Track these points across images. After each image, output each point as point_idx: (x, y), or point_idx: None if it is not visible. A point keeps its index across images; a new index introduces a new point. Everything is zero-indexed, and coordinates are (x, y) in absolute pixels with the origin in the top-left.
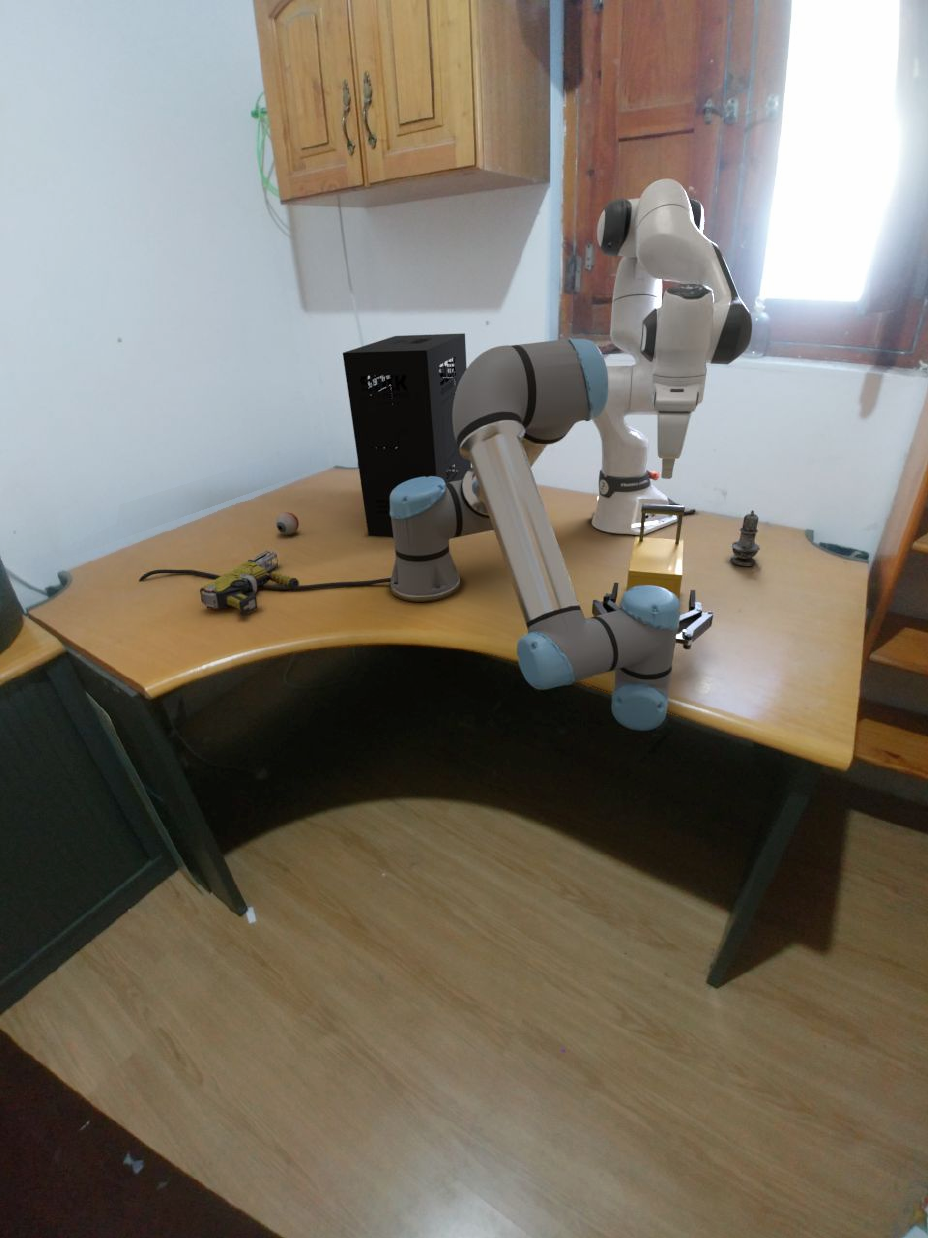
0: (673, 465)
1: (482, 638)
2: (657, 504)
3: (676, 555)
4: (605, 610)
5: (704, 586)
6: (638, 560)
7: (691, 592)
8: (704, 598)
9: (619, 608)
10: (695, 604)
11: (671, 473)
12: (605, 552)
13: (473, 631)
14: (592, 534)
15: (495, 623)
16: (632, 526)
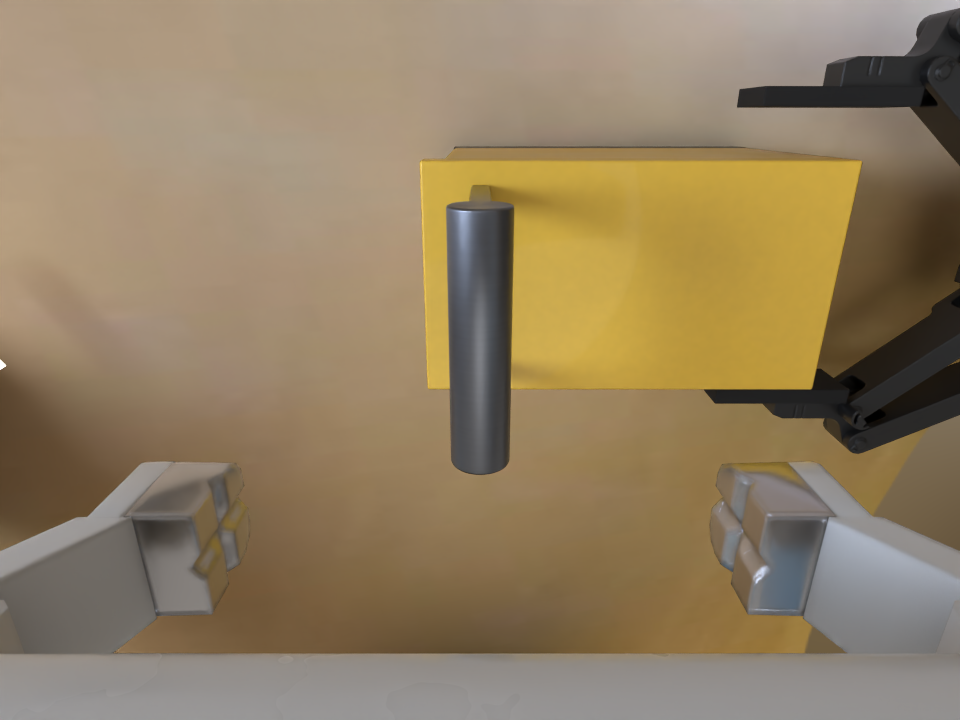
0: (953, 552)
1: (800, 624)
2: (476, 389)
3: (633, 193)
4: (927, 408)
5: (354, 32)
6: (706, 359)
7: (790, 103)
8: (461, 33)
9: (916, 366)
10: (863, 84)
11: (837, 491)
12: (173, 416)
13: (768, 648)
14: (29, 476)
15: (724, 615)
16: (2, 366)
